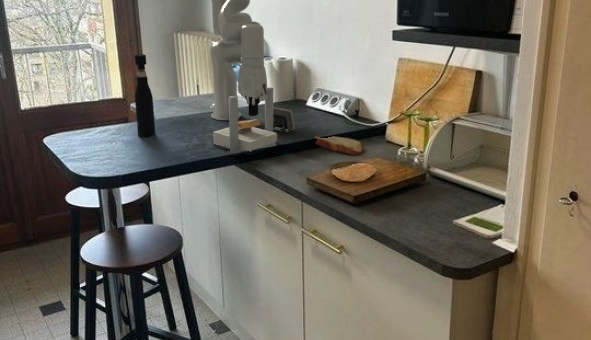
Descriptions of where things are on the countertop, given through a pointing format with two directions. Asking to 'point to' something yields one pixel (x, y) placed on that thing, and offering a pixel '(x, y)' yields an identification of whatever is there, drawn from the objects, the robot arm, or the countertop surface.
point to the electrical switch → (283, 118)
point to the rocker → (248, 123)
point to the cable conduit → (233, 123)
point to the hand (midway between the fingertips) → (253, 115)
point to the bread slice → (341, 145)
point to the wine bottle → (143, 101)
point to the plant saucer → (342, 164)
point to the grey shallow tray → (246, 138)
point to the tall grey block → (269, 110)
